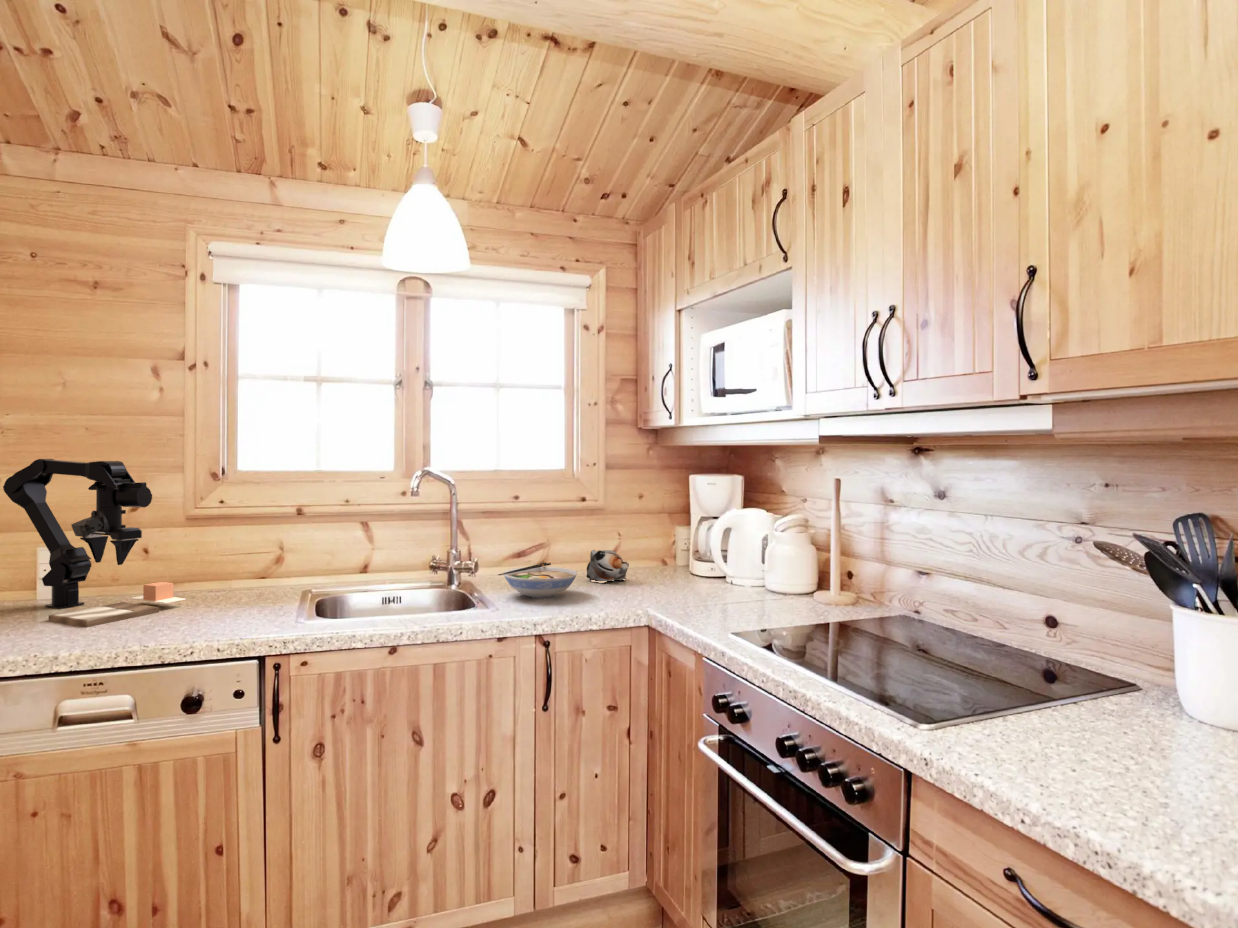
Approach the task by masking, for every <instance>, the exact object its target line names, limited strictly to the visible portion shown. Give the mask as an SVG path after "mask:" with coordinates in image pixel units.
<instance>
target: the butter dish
mask: <svg viewBox="0 0 1238 928" xmlns="http://www.w3.org/2000/svg"><path fill="white" fill-rule="evenodd" d="M142 587H143V593H142V594H143V595H140V596H135V597H131V598H130V599H131V600H137V601H145V602H150V603H151V602H152V603H158V604H169V603H173V602H174V603H175V602H180V601H184V600H187V598H182V597H176V596H174V583H172V582H165V581H159V582H153V583H147V584H143V586H142Z"/></svg>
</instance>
